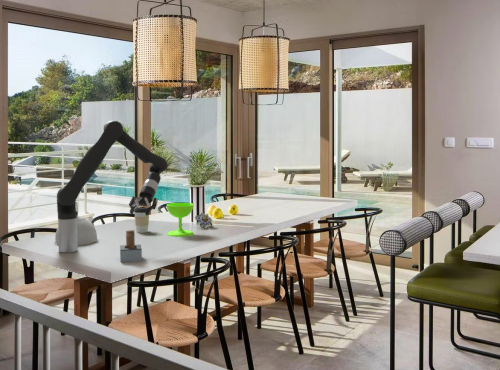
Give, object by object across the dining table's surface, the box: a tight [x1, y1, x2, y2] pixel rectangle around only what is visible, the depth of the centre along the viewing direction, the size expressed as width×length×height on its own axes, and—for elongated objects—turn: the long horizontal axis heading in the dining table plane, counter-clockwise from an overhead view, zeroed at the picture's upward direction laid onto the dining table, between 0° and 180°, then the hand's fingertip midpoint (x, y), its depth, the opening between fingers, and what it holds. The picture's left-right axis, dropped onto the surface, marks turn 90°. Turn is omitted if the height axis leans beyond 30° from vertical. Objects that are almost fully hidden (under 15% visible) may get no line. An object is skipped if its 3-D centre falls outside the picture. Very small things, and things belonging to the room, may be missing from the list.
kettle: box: [54, 201, 98, 246], centre depth 320 cm, size 25×23×22 cm
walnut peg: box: [125, 229, 136, 248], centre depth 276 cm, size 4×4×14 cm
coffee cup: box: [134, 206, 150, 234], centre depth 347 cm, size 9×9×15 cm
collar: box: [119, 244, 143, 263], centre depth 276 cm, size 10×10×6 cm
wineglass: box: [166, 202, 195, 238], centre depth 339 cm, size 16×16×18 cm
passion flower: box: [194, 211, 214, 230], centre depth 362 cm, size 11×11×12 cm
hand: (138, 214), depth 289 cm, fingers open, 8 cm apart
